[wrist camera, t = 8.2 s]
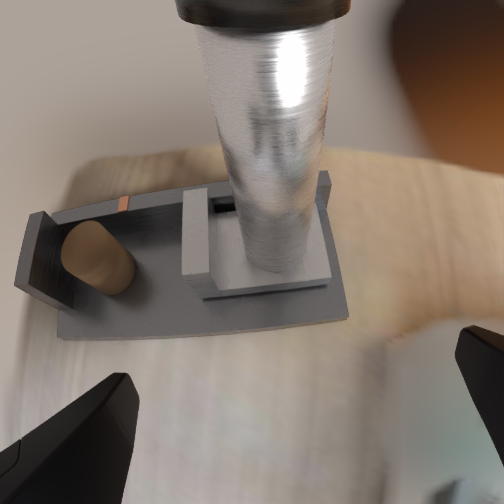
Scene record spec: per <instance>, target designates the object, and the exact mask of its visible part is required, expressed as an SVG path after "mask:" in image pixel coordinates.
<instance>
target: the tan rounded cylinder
mask: <svg viewBox="0 0 504 504" xmlns="http://www.w3.org/2000/svg"><path fill="white" fill-rule="evenodd" d="M61 260H62V264H63V266H64V268H65V269H66V270H67V271H68V272H70V273H71V274H73V275H74V276H76V277H78V278H79V279H81V280H82V281H84V282H86V283H87V284H89V285H90V286H92V287H94V288H95V289H97V290H98V291H100V292H102V293H104V294H106V295H115V294H118V293H120V292H122V291H124V290H125V289H126V288H127V287H128V286H129V285H130V283H131V281H132V280H133V277H134V274H135V267H136V266H135V260H134V258H133V256H132V254H131V253H130V252H129V251H128V250H127V249H126V248H124V247H123V246H122V245H121V244H120V243H119V242H118V241H117V240H116V239H115V238H114V237H113V236H112V235H111V234H110V233H109V232H108V231H107V230H106V229H105V228H104V227H103V226H102V225H101V224H100V223H98V222H96V221H85V222H83V223H81V224H79V225H77V226H76V227H75V228H73V229H72V230H71V232H70V233H69V234H68V236H67V237H66V239H65V241H64V243H63V246H62V250H61Z"/></svg>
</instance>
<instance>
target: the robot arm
mask: <svg viewBox="0 0 504 504" xmlns="http://www.w3.org/2000/svg"><path fill="white" fill-rule="evenodd" d="M455 359H456V362H457V364H458V366H459V368H460V371H461V373H462V376H463V378H464V380H465V383H466V385H467V388H468V390H469V393H470V395H471V397H472V400H473V402H474V404H475V406H476V408H477V410H478V412H479V414H480V416H481V418H482V420H483V422H484V424H485V426H486V428H487V430H488V432H489V435H490V437H491V439H492V441H493V443H494V445H495V448H496V450H497V452H498V454H499V457H500V459H501V461H502V464H503V466H504V335H501V334H498V333H495V332H492V331H490V330H487V329H484V328H481V327H478V326H475V325H471V326H468V327H465V328H463V329H462V330H461V332H460V334H459V338H458V343H457V347H456V350H455ZM139 403H140V400H139V395H138V393H137V390H136V388H135V386H134V384H133V381H132V379H131V377H130V375H129V374H127V373H113V374H111V375H110V376H108V377H107V378H106V379H104V380H103V381H101V382H100V383H99V384H97V385H96V386H94V387H93V388H92V389H90V390H89V391H87V392H86V393H85V394H83V395H82V396H80V397H79V398H78V399H76V400H75V401H73V402H72V403H71V404H69V405H68V406H66V407H65V408H64V409H62V410H61V411H59V412H58V413H56V414H55V415H54V416H52V417H51V418H49V419H48V420H47V421H45V422H44V423H42V424H41V425H39V426H38V427H37V428H35V429H34V430H32V431H31V432H29V433H28V434H26V435H25V436H24V437H22V438H21V440H20V439H19V440H18V441H16V442H15V443H13V444H12V445H11V446H9V447H8V448H6V449H5V450H3V451H1V452H0V504H121V502H122V497H123V493H124V488H125V483H126V479H127V475H128V470H129V466H130V462H131V458H132V453H133V448H134V441H135V433H136V425H137V418H138V411H139Z"/></svg>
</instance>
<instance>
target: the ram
mask: <svg viewBox="0 0 504 504" xmlns="http://www.w3.org/2000/svg"><path fill="white" fill-rule="evenodd" d="M175 2H176V7H177V11H178V15H179V17H180V18H181V19H182V20H184V21H186V22H189V23H192V24H195V28H196V32H197V37H198V42H199V46H200V51H201V55H202V60H203V64H204V69H205V74H206V78H207V83H208V88H209V92H210V97H211V101H212V106H213V110H214V114H215V119H216V123H217V128H218V132H219V137H220V142H221V146H222V151H223V155H224V160H225V164H226V168H227V173H228V177H229V182H230V186H231V191H232V195H233V199H234V204H235V208H236V211H233V212H225V213H217V214H216V212H215V209H214V206H213V203H212V200H211V197H210V194H209V191H208V188H200V189H193V190H187V191H183V217H182V276H183V277H184V279H185V280H186V281H187V282H188V284H189V285H190V286H191V288H192V289H193V290H194V291H195V293H196V294H197V295H198V296H199V298H200V299H201V298H211V297H221V296H231V295H241V294H250V293H259V292H268V291H277V290H285V289H293V288H302V287H309V286H317V285H325V284H329V282H330V280H331V278H332V276H331V271H330V266H329V261H328V256H327V251H326V246H325V242H324V237H323V232H322V228H321V223H320V219H319V214H318V210H317V206H316V202H314V201H315V195H316V188H317V182H318V175H319V168H320V161H321V154H322V146H323V139H324V130H325V123H326V114H327V106H328V97H329V88H330V79H331V67H332V57H333V46H334V33H335V19H337V18H339V17H342V16H344V15H345V14H347V13H348V12H349V10H350V5H351V0H175Z"/></svg>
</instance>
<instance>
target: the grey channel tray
mask: <svg viewBox="0 0 504 504" xmlns="http://www.w3.org/2000/svg"><path fill="white" fill-rule="evenodd" d="M331 185H332V184H331V181H330V178H329V174H328V171H327V170H326V171H319V175H318V182H317V188H316V195H315V201H314V202H316V206H317V210H318V214H319V219H320V223H321V228H322V232H323V237H324V242H325V246H326V251H327V256H328V261H329V266H330V271H331V276H332V278H331V280H330V282H329V284H325V285H317V286H309V287H302V288H293V289H285V290H277V291H268V292H259V293H250V294H241V295H231V296H221V297H211V298H201V299H200V298H199V296H198V295H197V294H196V293H195V291H194V290H193V289H192V288H191V286H190V285H189V284H188V282H187V281H186V280H185V279H184V277H183V276H182V217H183V191H187V190H193V189H200V188H208V191H209V194H210V197H211V200H212V203H213V206H214V209H215V212H216V214H217V213H225V212H233V211H236V208H235V204H234V199H233V195H232V191H231V186H230V182H229V181H222V182H215V183H208V184H201V185H194V186H188V187H181V188H175V189H169V190H163V191H157V192H151V193H146V194H140V195H135V196H124V197H120V198H119V199H114V200H109V201H104V202H100V203H95V204H90V205H86V206H81V207H77V208H72V209H68V210H64V211H59V212H55V213H52V216H51V217H50V216H49V215H48V214H47V213H46V212H45V211H41V212H38V213H34V214H30V217H29V220H28V224H27V227H26V231H25V235H24V240H23V244H22V248H21V252H20V256H19V261H18V266H17V272H16V277H15V282H14V286H16V287H18V288H19V289H21V290H23V291H24V292H26V293H28V294H30V295H32V296H34V297H35V298H37V299H39V300H41V301H43V302H45V303H47V304H49V305H51V306H53V307H55V308H57V309H59V315H58V328H57V338H60V339H63V340H142V339H167V338H185V337H200V336H214V335H226V334H237V333H248V332H258V331H267V330H276V329H284V328H292V327H300V326H308V325H315V324H322V323H329V322H335V321H342V320H346V319H347V318H348V317H349V313H348V308H347V303H346V297H345V292H344V287H343V282H342V277H341V272H340V267H339V262H338V258H337V253H336V249H335V244H334V240H333V235H332V231H331V227H330V223H329V218H328V214H327V210H326V208H327V204H328V199H329V194H330V190H331ZM85 221H96V222H98V223H100V224H101V225H102V226H103V227H104V228H105V229H106V230H107V231H108V232H109V233H110V234H111V235H112V236H113V237H114V238H115V239H116V240H117V241H118V242H119V243H120V244H121V245H122V246H123V247H124V248H126V249H127V250H128V251H129V252H130V253H131V254H132V256H133V258H134V260H135V266H136V267H135V274H134V277H133V280H132V281H131V283H130V285H129V286H128V287H127V288H126V289H125V290H124V291H122V292H120V293H118V294H115V295H106V294H104V293H102V292H100V291H98V290H97V289H95V288H94V287H92V286H90V285H89V284H87V283H86V282H84V281H82V280H81V279H79V278H78V277H76V276H74V275H73V274H71V273H70V272H68V271H67V270H66V269H65V268H64V266H63V264H62V260H61V250H62V246H63V243H64V241H65V239H66V237H67V236H68V234H69V233H70V232H71V230H72V229H73V228H75V227H76V226H77V225H79V224H81V223H83V222H85Z"/></svg>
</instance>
